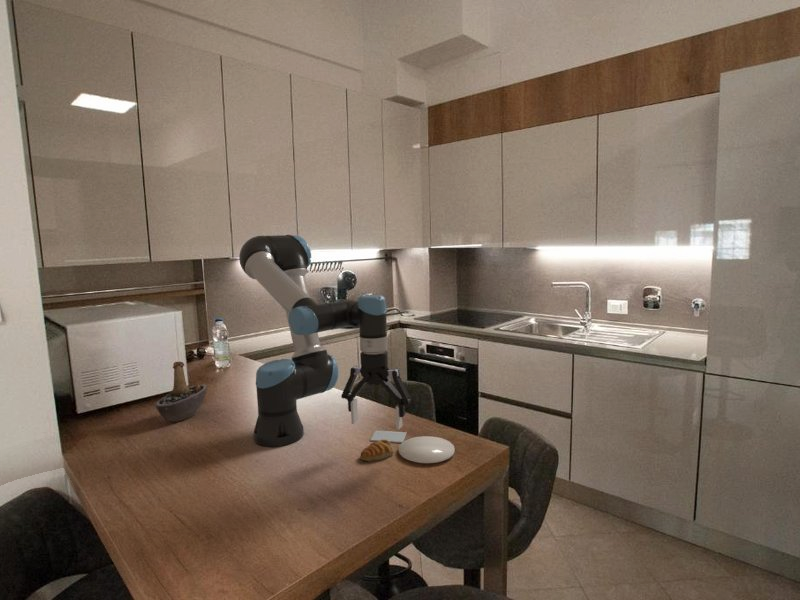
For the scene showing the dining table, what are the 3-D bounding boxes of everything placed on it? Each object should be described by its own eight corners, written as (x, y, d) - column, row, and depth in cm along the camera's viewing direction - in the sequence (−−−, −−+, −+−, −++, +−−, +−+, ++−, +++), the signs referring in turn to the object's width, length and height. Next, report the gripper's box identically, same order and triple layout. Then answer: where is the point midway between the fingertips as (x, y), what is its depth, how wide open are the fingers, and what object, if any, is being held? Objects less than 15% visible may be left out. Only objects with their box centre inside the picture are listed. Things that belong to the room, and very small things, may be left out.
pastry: (369, 466, 129) (369, 452, 129) (355, 457, 134) (354, 444, 134) (395, 455, 135) (395, 442, 135) (381, 447, 140) (380, 435, 140)
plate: (390, 460, 132) (390, 456, 132) (409, 437, 147) (409, 433, 146) (446, 469, 126) (446, 465, 126) (460, 444, 141) (460, 440, 141)
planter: (208, 406, 176) (204, 354, 173) (205, 423, 160) (200, 365, 158) (164, 412, 171) (159, 358, 169) (156, 430, 156) (151, 370, 153)
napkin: (370, 441, 144) (370, 439, 144) (375, 431, 151) (375, 430, 151) (402, 443, 143) (402, 441, 142) (406, 433, 149) (406, 432, 149)
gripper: (327, 351, 132) (330, 425, 135) (412, 357, 123) (414, 435, 126) (339, 345, 139) (343, 415, 142) (421, 350, 130) (423, 424, 133)
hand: (376, 425), depth 134 cm, fingers open, 13 cm apart
